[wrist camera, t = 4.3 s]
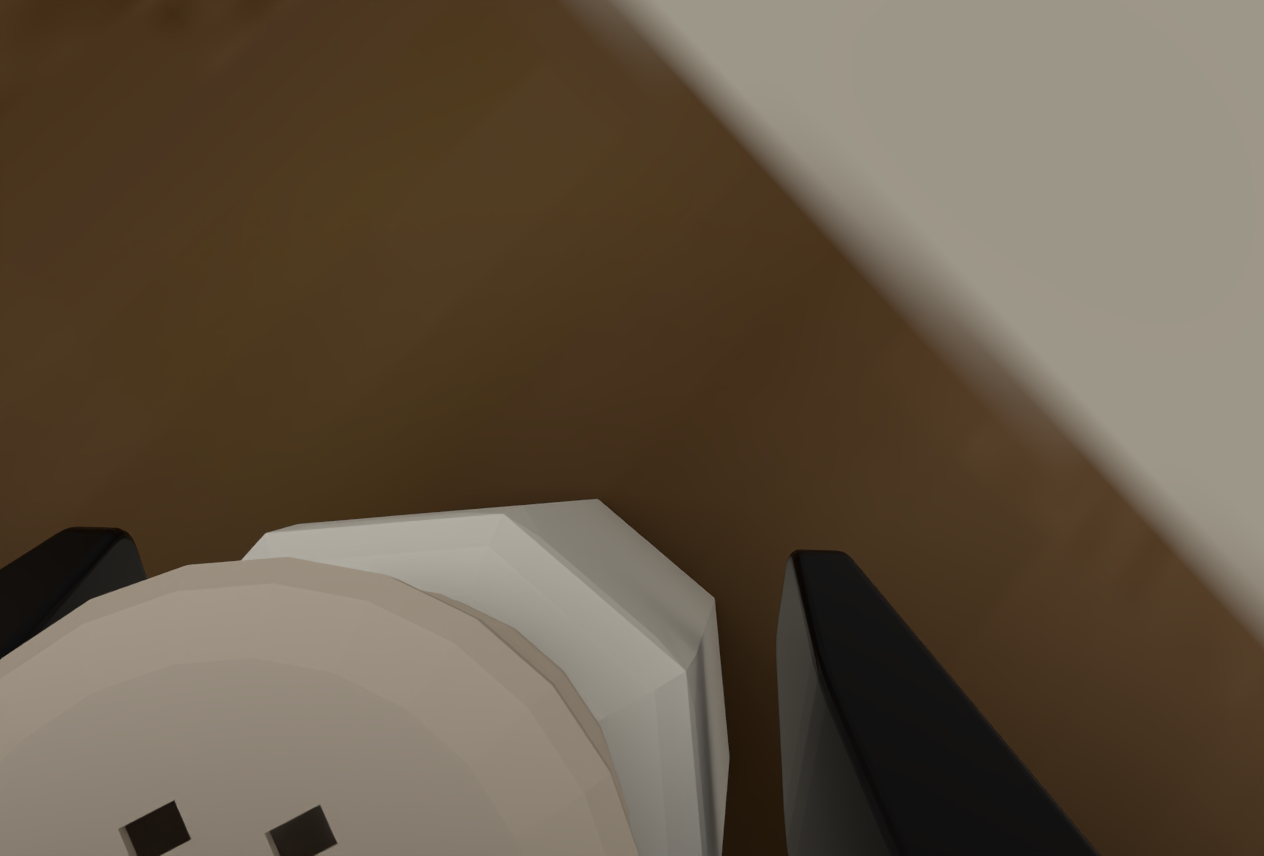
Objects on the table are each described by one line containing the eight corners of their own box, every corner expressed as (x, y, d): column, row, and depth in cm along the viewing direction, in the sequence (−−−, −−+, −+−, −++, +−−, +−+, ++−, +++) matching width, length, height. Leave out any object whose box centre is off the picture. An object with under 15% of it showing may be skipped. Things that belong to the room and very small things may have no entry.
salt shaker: (269, 602, 14) (-837, 622, 4) (622, 423, 15) (591, -50, 4) (441, 981, 14) (-304, 2459, 3) (809, 782, 14) (1397, 1407, 3)
